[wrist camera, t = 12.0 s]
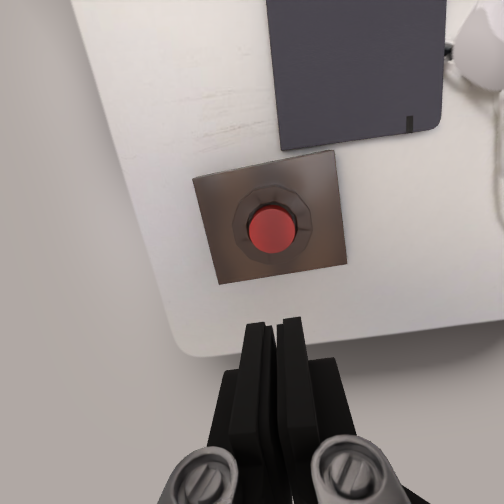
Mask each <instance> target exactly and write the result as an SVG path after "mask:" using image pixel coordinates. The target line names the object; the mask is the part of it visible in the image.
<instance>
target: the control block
mask: <svg viewBox="0 0 504 504" xmlns="http://www.w3.org/2000/svg"><path fill="white" fill-rule="evenodd" d="M192 180H193V184H194V188H195V192H196V196H197V200H198V204H199V208H200V212H201V216H202V220H203V224H204V228H205V231H206V235H207V239H208V243H209V247H210V251H211V255H212V259H213V263H214V267H215V271H216V275H217V279H218V283H219V285H221V284H227V283H233V282H239V281H245V280H251V279H258V278H264V277H270V276H276V275H282V274H288V273H295V272H301V271H307V270H313V269H319V268H325V267H331V266H338V265H344V264H347V256H346V247H345V238H344V230H343V221H342V213H341V204H340V196H339V187H338V178H337V170H336V161H335V153H334V150H325V151H320V152H315V153H311V154H306V155H301V156H296V157H291V158H286V159H281V160H276V161H272V162H267V163H262V164H257V165H252V166H247V167H242V168H238V169H233V170H228V171H223V172H218V173H213V174H208V175H203V176H199V177H196V178H193V179H192ZM268 205H277V206H280V207H282V208H284V209H285V210H287V211H288V212H289V214H290V215H291V217H292V219H293V222H294V226H295V236H294V239H293V241H292V243H291V244H290V246H289V247H288V248H286V249H285V250H283V251H281V252H278V253H266V252H263V251H261V250H259V249H258V248H257V247H256V246H255V245H254V244H253V243H252V241H251V239H250V235H249V227H250V223H251V220H252V217H253V215H254V214H255V213H256V212H257V211H258V210H259V209H260V208H262V207H264V206H268Z"/></svg>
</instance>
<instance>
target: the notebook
mask: <svg viewBox="0 0 504 504" xmlns="http://www.w3.org/2000/svg"><path fill="white" fill-rule="evenodd" d="M446 2H447V0H266V5H267V15H268V25H269V35H270V45H271V55H272V65H273V75H274V85H275V95H276V105H277V115H278V125H279V135H280V145H281V150H288V149H296V148H303V147H310V146H317V145H324V144H332V143H339V142H346V141H353V140H360V139H368V138H375V137H382V136H389V135H397V134H406V133H413V132H418V131H425V130H430V129H433V128H435V127H436V126H437V125H438V124H439V122H440V119H441V111H442V89H443V67H444V45H445V23H446Z"/></svg>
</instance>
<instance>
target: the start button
mask: <svg viewBox="0 0 504 504" xmlns="http://www.w3.org/2000/svg"><path fill="white" fill-rule="evenodd" d="M249 235H250V239H251V241H252V243H253V244H254V245H255V246H256V247H257V248H258V249H259V250H261V251H263V252H266V253H278V252H281V251H283V250H285V249H286V248H288V247H289V246H290V244H291V243H292V241H293V239H294V236H295V226H294V222H293V219H292V217H291V215H290V214H289V212H288V211H287V210H285V209H284V208H282V207H280V206H277V205H268V206H264V207H262V208H260V209H259V210H258V211H257V212H256V213H255V214H254V215H253V217H252V220H251V223H250V227H249Z"/></svg>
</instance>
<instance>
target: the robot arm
mask: <svg viewBox="0 0 504 504" xmlns="http://www.w3.org/2000/svg"><path fill="white" fill-rule="evenodd" d="M292 496H293V501H294V504H430V503H428V502H427V501H425V500H424V499H422V498H421V497H419V496H418V495H416V494H415V493H413V492H412V491H410V490H409V489H407V488H406V487H404V486H403V485H401V483H400V481H399V479H398V477H397V476H396V474H395V472H394V471H393V468H392V466H391V464H390V463H389V461H388V459H387V458H386V456H385V455H384V454H383V452H382V451H381V449H379V448H378V447H377V446H376V445H375V444H373V443H372V442H371V441H368V440H366V439H364V438H362V437H360V436H357V434H356V431H355V428H354V424H353V420H352V417H351V413H350V410H349V406H348V403H347V399H346V396H345V392H344V389H343V385H342V382H341V378H340V374H339V371H338V367H337V364H336V361H335V358H334V357H333V358H324V359H316V360H308V356H307V351H306V345H305V339H304V333H303V327H302V322H301V317H294V318H286V319H283V324H278V325H277V347H276V343H275V338H274V333H273V328H272V325H271V326H266V325H265V322H258V323H251V324H247V325H246V330H245V336H244V341H243V347H242V353H241V360H240V365H239V369H234V370H226V371H225V372H224V375H223V378H222V383H221V387H220V391H219V396H218V400H217V404H216V409H215V413H214V417H213V421H212V426H211V430H210V435H209V438H208V443H207V447H204V448H201V449H198V450H196V451H193V452H192V453H190V454H189V455H187V456H186V457H185V458H184V459H183V460H182V461H181V462H180V463H179V464H178V465H177V466H176V467H175V469H174V470H173V472H172V474H171V475H170V477H169V479H168V481H167V483H166V486H165V488H164V490H163V492H162V494H161V497H160V498H159V501H158V503H157V504H292Z"/></svg>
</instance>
